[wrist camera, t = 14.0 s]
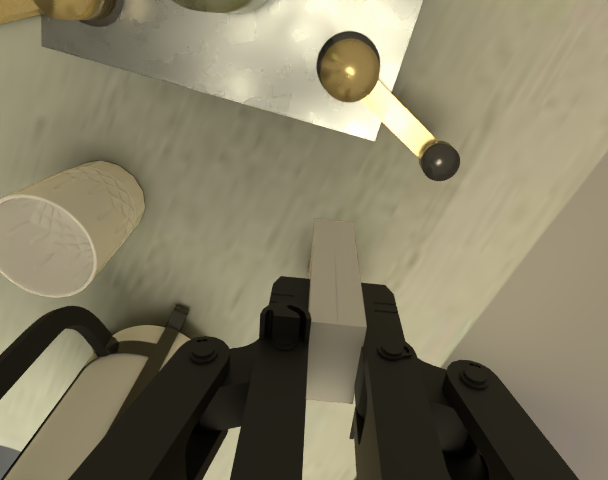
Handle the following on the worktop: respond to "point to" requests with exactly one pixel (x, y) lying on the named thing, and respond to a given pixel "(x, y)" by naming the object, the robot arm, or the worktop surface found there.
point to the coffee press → (86, 385)
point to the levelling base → (247, 49)
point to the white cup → (67, 227)
